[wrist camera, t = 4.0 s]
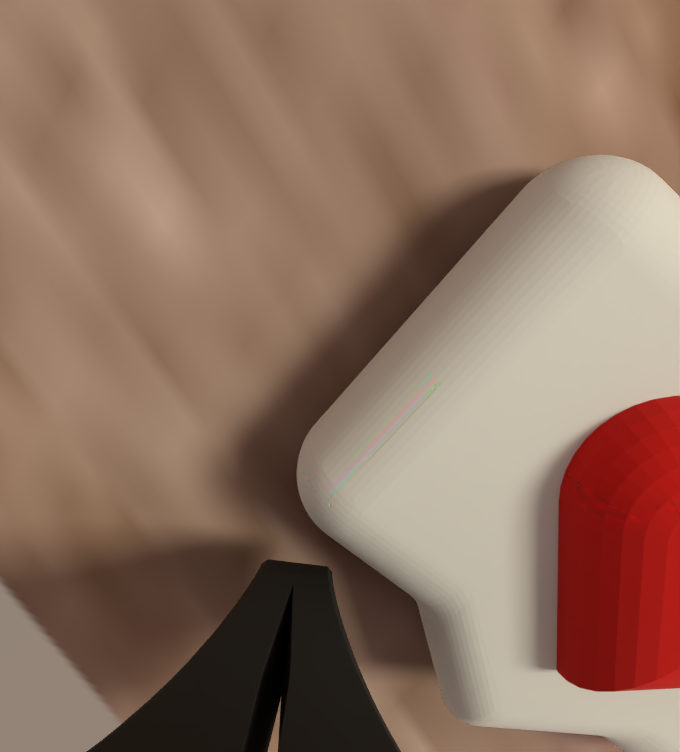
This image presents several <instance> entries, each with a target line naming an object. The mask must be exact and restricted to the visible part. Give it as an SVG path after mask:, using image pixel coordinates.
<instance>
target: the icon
mask: <svg viewBox="0 0 680 752" xmlns="http://www.w3.org/2000/svg"><path fill="white" fill-rule="evenodd" d="M297 486H298V491H299V495H300V498H301V501H302V503H303V505H304V508H305V510H306V511H307V513H308V515H309V516H310V518H311V519H312V520H313V522H314V523H315V524H316V525H317V526H318V527H319V528H320V529H321V530H322V531H323V532H324V533H326V534H327V535H328V536H330V537H331V538H332V539H334V540H335V541H336V542H338V543H339V544H341V545H342V546H343V547H345V548H346V549H347V550H349V551H350V552H351V553H353V554H354V555H356V556H357V557H358V558H360V559H361V560H362V561H364V562H365V563H367V564H368V565H369V566H371V567H372V568H373V569H375V570H376V571H378V572H379V573H380V574H382V575H383V576H384V577H386V578H387V579H389V580H390V581H391V582H393V583H394V584H395V585H397V586H398V587H399V588H401V589H402V590H404V591H405V592H406V593H408V594H409V595H410V596H412V597H413V598H414V599H415V600H416V602H417V605H418V608H419V612H420V616H421V620H422V624H423V627H424V631H425V635H426V639H427V642H428V646H429V650H430V654H431V658H432V661H433V665H434V669H435V673H436V676H437V680H438V684H439V688H440V691H441V695H442V698H443V701H444V703H445V705H446V707H447V708H448V710H449V711H450V712H451V713H452V714H453V715H454V716H455V717H456V718H457V719H459V720H461V721H462V722H465V723H467V724H470V725H475V726H485V727H498V728H510V729H523V730H535V731H548V732H561V733H573V734H586V735H598V736H604V737H605V738H607V739H608V740H609V741H611V742H612V743H614V744H615V745H616V746H618V747H619V748H620V749H622V750H623V751H625V752H680V197H679V196H678V195H677V194H676V193H675V192H674V191H673V190H672V189H671V188H670V187H669V186H668V185H667V184H666V183H665V182H664V181H663V180H662V179H661V178H660V177H659V176H658V175H657V174H656V173H655V172H653V171H652V170H650V169H649V168H647V167H645V166H643V165H642V164H640V163H638V162H635V161H633V160H630V159H627V158H623V157H618V156H612V155H589V156H582V157H577V158H573V159H569V160H566V161H563V162H561V163H558V164H556V165H554V166H552V167H550V168H548V169H547V170H545V171H543V172H542V173H540V174H539V175H538V176H536V177H535V178H534V179H532V180H531V181H530V182H529V183H528V184H527V185H526V186H525V187H524V188H523V189H522V190H521V191H520V192H519V194H518V195H517V196H516V197H515V198H514V199H513V200H512V202H511V203H510V204H509V205H508V206H507V207H506V208H505V209H504V211H503V212H502V213H501V214H500V215H499V216H498V217H497V218H496V220H495V221H494V222H493V223H492V224H491V225H490V226H489V228H488V229H487V230H486V231H485V232H484V233H483V234H482V235H481V237H480V238H479V239H478V240H477V241H476V242H475V243H474V245H473V246H472V247H471V248H470V249H469V250H468V251H467V252H466V254H465V255H464V256H463V257H462V258H461V259H460V260H459V261H458V263H457V264H456V265H455V266H454V267H453V268H452V269H451V271H450V272H449V273H448V274H447V275H446V276H445V277H444V278H443V280H442V281H441V282H440V283H439V284H438V285H437V286H436V288H435V289H434V290H433V291H432V292H431V293H430V294H429V295H428V297H427V298H426V299H425V300H424V301H423V302H422V303H421V305H420V306H419V307H418V308H417V309H416V310H415V311H414V312H413V314H412V315H411V316H410V317H409V318H408V319H407V320H406V321H405V323H404V324H403V325H402V326H401V327H400V328H399V329H398V331H397V332H396V333H395V334H394V335H393V336H392V337H391V338H390V340H389V341H388V342H387V343H386V344H385V345H384V346H383V348H382V349H381V350H380V351H379V352H378V353H377V354H376V355H375V357H374V358H373V359H372V360H371V361H370V362H369V363H368V364H367V366H366V367H365V368H364V369H363V370H362V371H361V372H360V374H359V375H358V376H357V377H356V378H355V379H354V380H353V381H352V383H351V384H350V385H349V386H348V387H347V388H346V389H345V391H344V392H343V393H342V394H341V395H340V396H339V397H338V398H337V400H336V401H335V402H334V403H333V404H332V405H331V406H330V407H329V409H328V410H327V411H326V412H325V413H324V414H323V415H322V417H321V418H320V419H319V420H318V421H317V422H316V423H315V424H314V426H313V427H312V428H311V430H310V431H309V433H308V434H307V436H306V438H305V440H304V442H303V444H302V447H301V450H300V453H299V458H298V463H297Z"/></svg>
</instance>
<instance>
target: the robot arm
mask: <svg viewBox="0 0 680 752" xmlns="http://www.w3.org/2000/svg"><path fill="white" fill-rule="evenodd" d="M281 694H282V695H281ZM280 699H281V711H280V727H279V744H278V752H401V751H400V749H399V748H398V746H397V744H396V742H395V741H394V739H393V737H392V735H391V734H390V732H389V730H388V728H387V726H386V724H385V722H384V721H383V719H382V717H381V715H380V713H379V711H378V709H377V707H376V705H375V703H374V701H373V699H372V697H371V694H370V692H369V690H368V688H367V686H366V683H365V681H364V679H363V676H362V674H361V672H360V669H359V667H358V665H357V662H356V660H355V657H354V654H353V652H352V649H351V646H350V643H349V640H348V638H347V635H346V632H345V629H344V626H343V623H342V619H341V616H340V613H339V609H338V605H337V601H336V597H335V592H334V587H333V579H332V571H331V570H330V569H329V568H328V567H327V566H318V565H310V564H301V563H293V562H285V561H276V560H267V561H265V562H264V563H262V565H261V567H260V568H259V570H258V572H257V574H256V576H255V577H254V579H253V580H252V582H251V584H250V585H249V587H248V588H247V590H246V591H245V592H244V594H243V595H242V597H241V598H240V600H239V601H238V602H237V604H236V605H235V606H234V608H233V609H232V610H231V612H230V613H229V614H228V615H227V617H226V618H225V619H224V621H223V622H222V623H221V624H220V626H219V627H218V628H217V629H216V631H215V632H214V633H213V634H212V635H211V637H210V638H209V639H208V640H207V641H206V642H205V643H204V644H203V646H202V647H201V648H200V649H199V650H198V651H197V652H196V653H195V655H194V656H193V657H192V658H191V659H190V660H189V661H188V662H187V663H186V665H185V666H184V667H183V668H182V669H181V670H180V671H179V672H178V673H177V674H176V675H175V676H174V677H173V678H172V679H171V680H170V681H169V682H168V683H167V684H166V685H165V686H164V687H163V688H162V689H160V690H159V691H158V692H157V693H156V694H155V695H154V696H153V697H152V698H151V699H150V700H149V701H148V702H147V703H145V704H144V705H143V706H142V707H141V708H140V709H139V710H137V711H136V712H135V713H134V714H133V715H132V716H130V717H129V718H128V719H127V720H126V721H125V722H124V723H122V724H121V725H120V726H119V727H118V728H116V729H115V730H114V731H113V732H112V733H110V734H109V735H108V736H107V737H105V738H104V739H103V740H102V741H100V742H99V743H98V744H96V745H95V746H94V747H92V748H91V749H90V750H88V751H87V752H267V751H268V747H269V743H270V739H271V735H272V731H273V727H274V723H275V719H276V715H277V711H278V707H279V703H280Z"/></svg>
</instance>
